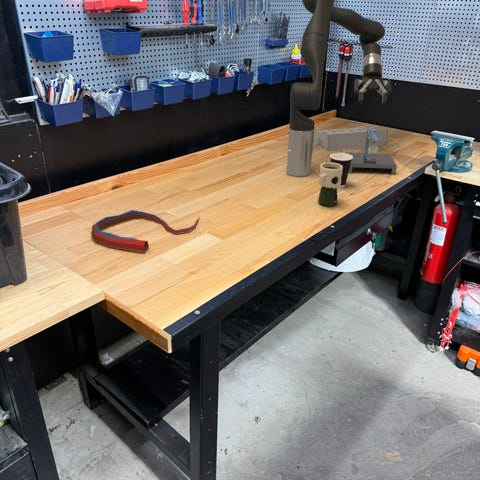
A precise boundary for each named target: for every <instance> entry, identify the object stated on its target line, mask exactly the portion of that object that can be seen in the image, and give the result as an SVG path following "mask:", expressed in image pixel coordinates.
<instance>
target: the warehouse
mask: <svg viewBox="0 0 480 480" xmlns="http://www.w3.org/2000/svg"><path fill="white" fill-rule="evenodd" d="M369 127H370V129H371V133H373V134H375V135H376V137H377V138H378V140H379V144H378V147H382V146H386V145H387V140H388V139H387V138H388V133H389V130H388V129H384V128H380V127H376V126H369ZM367 128H368V126H360V127H359V126H358V127H349V128H336V129H335V128H334V129H322V130H314V138H313V144H315V145H317V146H320V147H321V148H322V149H324V150H326V151H327V152H329V151H331V152H332V151H338V150H339V151H340V150H349V149H351V150H352V149H362V148H365V143H366V134H367ZM368 131H369V130H368Z"/></svg>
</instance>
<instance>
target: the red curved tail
mask: <svg viewBox="0 0 480 480" xmlns="http://www.w3.org/2000/svg"><path fill="white" fill-rule="evenodd" d="M200 218H201V217H200V216H199V217H198V218H197V219H196V221H195V222H194V224H193V225H191V226H189V227H186V228H179V229H174V228H172V227H170V226H169V224H168V222H166V220H164V219H162V218H160V217H159V216H157V215H156V214H151V213H148V212H146V211H140V210H129V211H127V212H124V213H121V214H119V215H112V216H106V217H104V218H102V219H99V220H98V221H96V223H95V224H94V223H93V224H92V227H91V235H90V236H92V238H93V240H94V241H95V242H97V243H99V244H101V243H102V245H103V246H106V245H107V246H106V247H109V248H112V247H113V248H114V249H117V248H118V250H122V249H123V251H129V250H130V251H131V252H137V253H146V251H145V248H146V250H149V249H150V245H149V242H148V241H147V240H144V239H143V240H142V239H137V238H134V237H128V236H127V237H126V236H119V235H116V234H114V233H112V232H111V233H110V232H107V231H104V229H105V230H106V228H107V229H109V228H111V226H112V227H114V225H115V226H117V225H120V224H122V223H123V224H124V223H126V222H131V221H133V220H134V219H136V220H145V219H146V221H149V220H150V221H149V222H153V221H154V222H153V223H156V224H159V225H160V224H161V226H162V227H163V228H164V230H165V229H166V230H165V231H166V232H168V233H170V234H173V235H178V234H184V233H189V232H191V231H193V230H194V229H196V226H197V224H198V222H199V221H200ZM130 220H131V221H130ZM102 230H103V231H102ZM130 251H129V252H130Z"/></svg>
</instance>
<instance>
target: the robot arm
mask: <svg viewBox="0 0 480 480" xmlns="http://www.w3.org/2000/svg"><path fill="white" fill-rule="evenodd" d="M334 3H335V0H302V4H303V7H304V9H306V10H307V11H308V12H309V13H311V14H312V15H311V18H310V19H309V21H308V24H307V25H306V27H305V29H304V31H303V35H302V36H301V37H302V38H301V46H300V55H301V58H302V60H303V62H304V64H305V66H306V67H307V69H308V71H309V73H310V75H311V77H312V81H313V82H294V83H292V84H291V87H290V98H289V102H290V103H289V105H290V107H289V111H290V112H289V124H288V125H289V127H288V144H287V157H286V175H289V176H293V177H306V176H309V175H310V174H311V171H312V170H311V169H312V161H313V160H312V157H313V148H314V142H313V138H314V131H315V126H316V123H315V121H314V120H313V118H309V117H307V116H306V115H304V114H303V113H302V112H301V111H317V110H319V108H320V106H321V101H322V93H323V92H322V89H323V76H324V74H323V73H324V65H325V58H326V54H327V53H326V52H327V46H328V36H329V35H328V34H329V28H330V22H332V23H334V24H336V25H339V26H341V27H342V28H343V29H345V30H347V31H348V32H350V33H351V34H353V35H355V36H358V41H359V44H360V46H361V50H362V57H363V58H362V60H363V61H362V79H359V77H358V78H355V80H354V89H353V94H354V95H358V102H359V103H360V104H364V93H365V92H367V91H368V92H372V91H373V92H377V93H378V94H380V95H381V104H382V105H385V104H386V103H387V100H388V98H387V97H388V96H390V95H391V93H392V81H391V79H390V78H388V79H387V80H384V79H383V63H382V62H383V61H382V47H381V45H380V44H379V43H378V42H379V41H381V39H383V38H384V37H385V35H386V29H385V26H384V25H383V24H382V23H381V22H379V21H377V20H373V19H370V18H367V17H364V16H363V15H362V14H359V13H358V12H356V11H355V10H353V9H351V8H344V7H338V6H334ZM360 85H362V87H361V88H360V89H359V86H360Z"/></svg>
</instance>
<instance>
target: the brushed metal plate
mask: <svg viewBox="0 0 480 480" xmlns="http://www.w3.org/2000/svg"><path fill="white" fill-rule="evenodd" d="M344 153H346V154H349V155H352V156H353V159H352V160H351V165H350V169H349V173H348V174H352V171H353V168H364V169H365V168H369V169H370V168H371V169H387V170H388V172H389V174H390V175H391V176H395V175H396V174H397V173H396V172H397V166H398V165H397V162H396V161H395V160H394V158H393V156H392V155H391V154H390V153H380V152H379V153H378V152H377V161H376V162H370V161H367V160H366V158H365V155H364V152H349V151H348V152H347V151H346V152H344Z"/></svg>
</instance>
